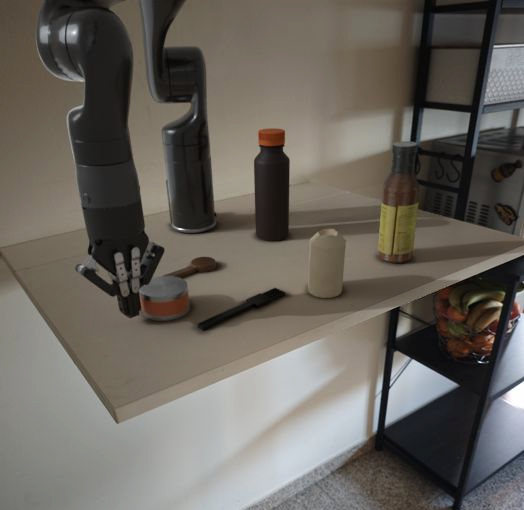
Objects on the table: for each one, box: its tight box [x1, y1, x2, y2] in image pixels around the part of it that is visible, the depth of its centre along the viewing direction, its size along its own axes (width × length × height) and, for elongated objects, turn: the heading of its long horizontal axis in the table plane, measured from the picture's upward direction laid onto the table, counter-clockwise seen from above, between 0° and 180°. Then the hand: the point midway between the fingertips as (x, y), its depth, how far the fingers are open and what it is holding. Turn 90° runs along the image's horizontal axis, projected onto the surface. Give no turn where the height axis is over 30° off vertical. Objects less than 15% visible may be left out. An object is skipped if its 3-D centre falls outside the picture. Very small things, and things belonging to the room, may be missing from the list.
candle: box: [307, 228, 347, 299], centre depth 78 cm, size 6×6×10 cm
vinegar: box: [253, 127, 291, 242], centre depth 97 cm, size 7×7×20 cm
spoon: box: [163, 256, 217, 278], centre depth 86 cm, size 16×4×1 cm, turn 133°
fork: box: [196, 287, 286, 332], centre depth 76 cm, size 16×3×1 cm, turn 133°
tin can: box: [139, 275, 191, 322], centre depth 76 cm, size 7×7×4 cm
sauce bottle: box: [377, 140, 420, 264], centre depth 86 cm, size 6×6×20 cm
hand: (131, 315), depth 73 cm, fingers closed
